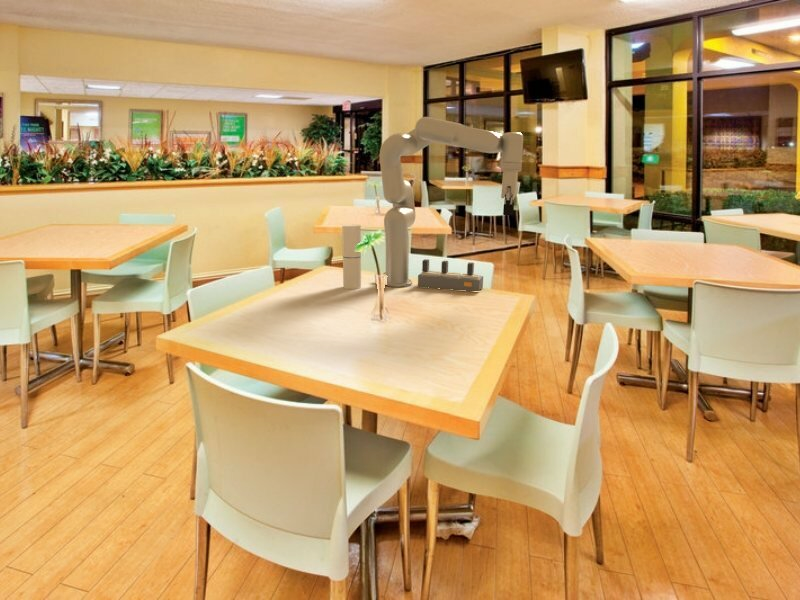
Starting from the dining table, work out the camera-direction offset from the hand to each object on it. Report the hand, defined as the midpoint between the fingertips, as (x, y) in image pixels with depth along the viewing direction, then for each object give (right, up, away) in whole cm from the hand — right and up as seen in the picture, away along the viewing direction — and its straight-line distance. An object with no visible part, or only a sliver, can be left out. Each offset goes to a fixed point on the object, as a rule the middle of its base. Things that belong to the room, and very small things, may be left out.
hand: (508, 214), depth 205 cm
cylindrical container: (-60, -27, +15) cm, 68 cm away
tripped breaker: (-13, -22, +11) cm, 28 cm away
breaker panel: (-20, -28, +15) cm, 38 cm away
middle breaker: (-23, -21, +14) cm, 34 cm away
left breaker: (-30, -20, +17) cm, 40 cm away
